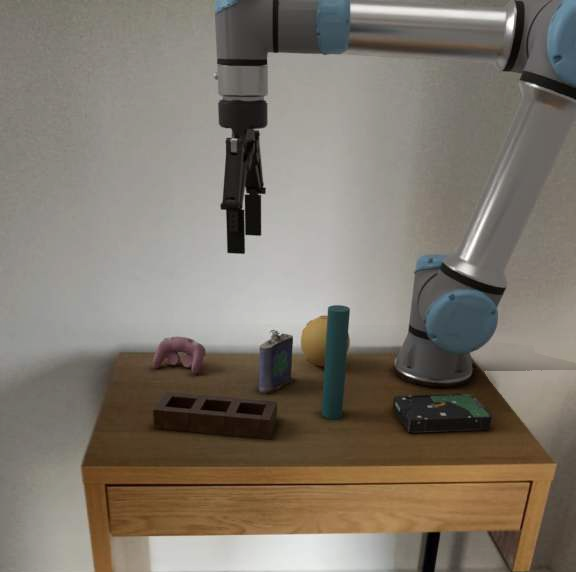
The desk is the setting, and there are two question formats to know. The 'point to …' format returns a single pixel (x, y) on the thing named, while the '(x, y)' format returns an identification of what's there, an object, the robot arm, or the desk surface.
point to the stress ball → (316, 340)
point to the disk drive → (441, 413)
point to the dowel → (335, 361)
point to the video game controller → (180, 344)
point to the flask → (275, 362)
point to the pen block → (215, 415)
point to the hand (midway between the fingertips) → (245, 243)
